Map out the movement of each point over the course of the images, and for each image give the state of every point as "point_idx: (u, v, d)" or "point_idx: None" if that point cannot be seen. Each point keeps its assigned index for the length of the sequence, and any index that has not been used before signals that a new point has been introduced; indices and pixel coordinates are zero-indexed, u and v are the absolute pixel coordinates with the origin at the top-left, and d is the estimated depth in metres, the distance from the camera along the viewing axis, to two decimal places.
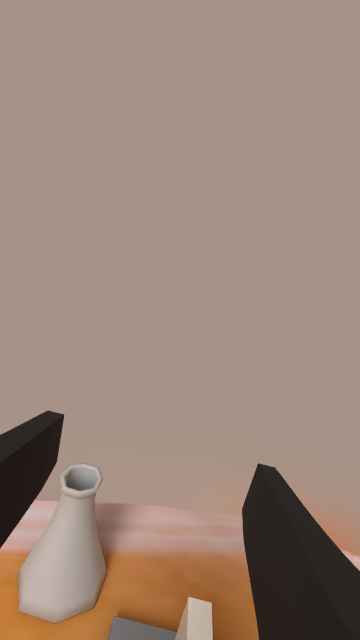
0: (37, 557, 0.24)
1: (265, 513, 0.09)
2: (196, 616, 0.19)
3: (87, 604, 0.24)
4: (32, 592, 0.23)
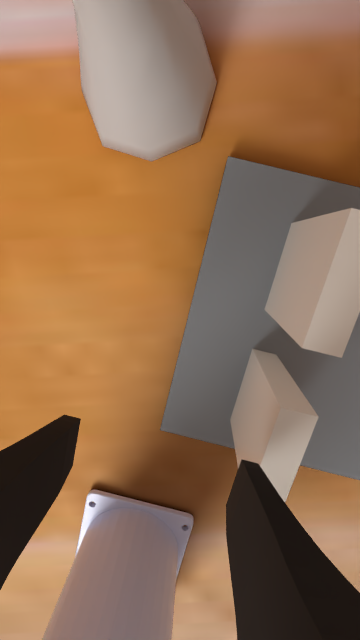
0: (89, 84, 0.14)
1: (246, 508, 0.09)
2: (356, 241, 0.10)
3: (190, 139, 0.16)
4: (106, 129, 0.16)
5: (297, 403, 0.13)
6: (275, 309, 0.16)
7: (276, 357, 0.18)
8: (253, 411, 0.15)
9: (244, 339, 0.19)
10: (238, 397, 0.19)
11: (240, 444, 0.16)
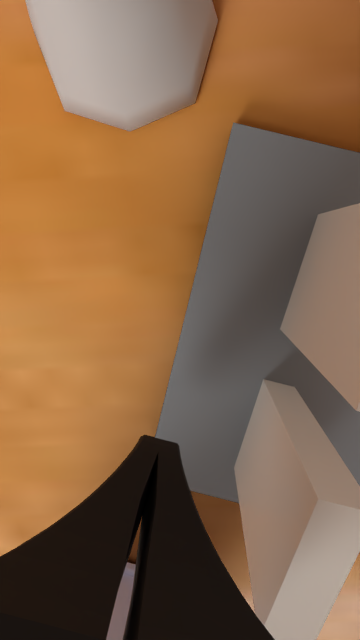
0: (32, 7, 0.09)
1: (152, 484, 0.09)
2: None
3: (182, 99, 0.12)
4: (64, 83, 0.11)
5: (340, 485, 0.08)
6: (297, 333, 0.12)
7: (295, 392, 0.14)
8: (268, 475, 0.11)
9: (252, 367, 0.14)
10: (244, 441, 0.15)
11: (249, 516, 0.12)
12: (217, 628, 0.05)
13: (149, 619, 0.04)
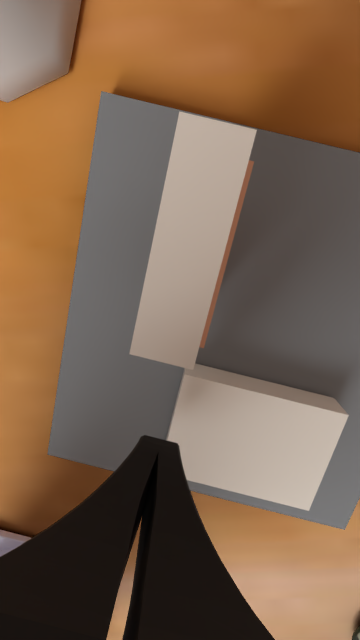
0: None
1: (152, 484, 0.09)
2: (194, 172, 0.06)
3: (52, 69, 0.12)
4: None
5: (323, 400, 0.14)
6: None
7: (198, 365, 0.14)
8: (263, 437, 0.13)
9: None
10: (174, 441, 0.14)
11: (241, 478, 0.14)
12: (217, 628, 0.05)
13: (149, 619, 0.04)
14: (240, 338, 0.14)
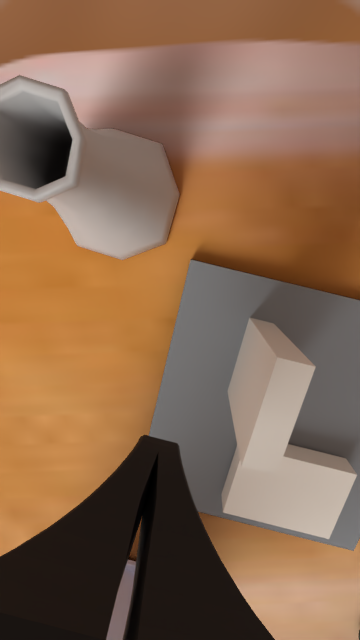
0: None
1: (152, 484, 0.09)
2: (283, 383, 0.12)
3: (156, 243, 0.18)
4: (79, 239, 0.17)
5: (339, 461, 0.19)
6: (232, 401, 0.17)
7: None
8: (298, 489, 0.19)
9: (209, 417, 0.20)
10: (234, 490, 0.19)
11: (282, 516, 0.20)
12: (217, 628, 0.05)
13: (149, 619, 0.04)
14: None
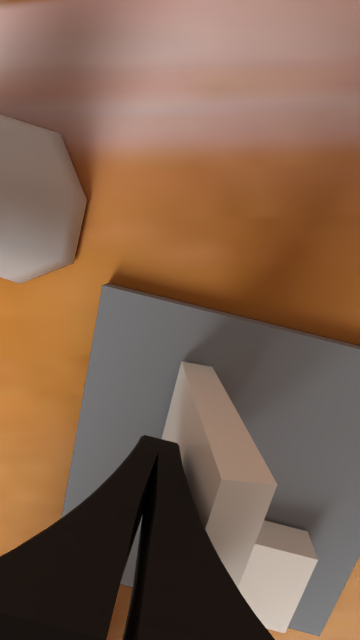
0: None
1: (152, 484, 0.09)
2: (231, 512, 0.08)
3: (60, 263, 0.14)
4: None
5: (297, 538, 0.15)
6: None
7: None
8: (244, 574, 0.15)
9: None
10: None
11: None
12: (217, 628, 0.05)
13: (149, 619, 0.04)
14: None
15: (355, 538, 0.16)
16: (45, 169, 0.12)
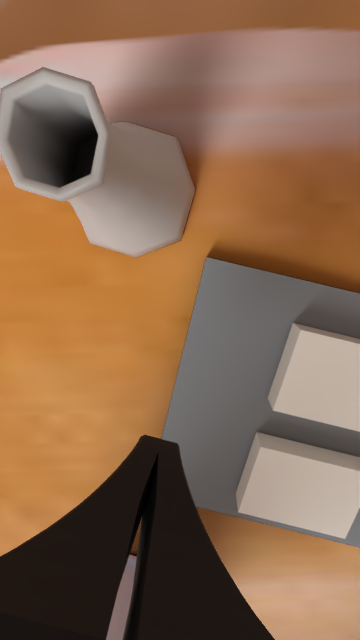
0: None
1: (152, 484, 0.09)
2: None
3: (171, 240, 0.18)
4: (92, 237, 0.17)
5: (356, 461, 0.19)
6: (312, 412, 0.18)
7: (265, 435, 0.20)
8: (314, 489, 0.19)
9: (224, 416, 0.20)
10: (250, 490, 0.19)
11: (297, 516, 0.19)
12: (217, 628, 0.05)
13: (149, 619, 0.04)
14: (296, 416, 0.20)
15: None
16: (176, 165, 0.15)
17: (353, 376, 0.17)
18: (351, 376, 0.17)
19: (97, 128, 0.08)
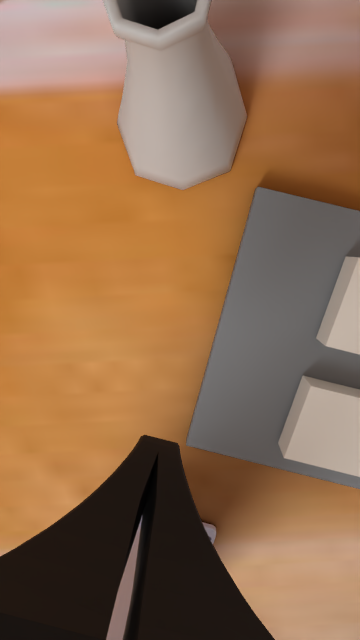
0: (131, 123, 0.15)
1: (152, 484, 0.09)
2: None
3: (221, 169, 0.17)
4: (142, 162, 0.16)
5: None
6: None
7: (312, 378, 0.19)
8: None
9: (269, 359, 0.19)
10: (298, 434, 0.19)
11: (346, 461, 0.19)
12: (217, 628, 0.05)
13: (149, 619, 0.04)
14: (344, 358, 0.19)
15: None
16: (234, 81, 0.15)
17: None
18: None
19: None
